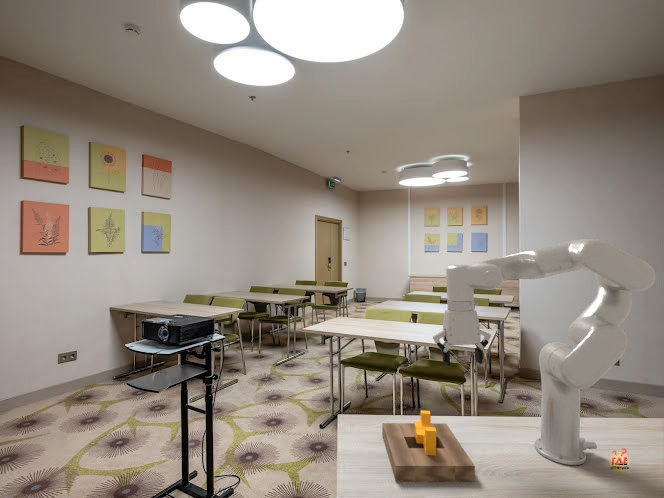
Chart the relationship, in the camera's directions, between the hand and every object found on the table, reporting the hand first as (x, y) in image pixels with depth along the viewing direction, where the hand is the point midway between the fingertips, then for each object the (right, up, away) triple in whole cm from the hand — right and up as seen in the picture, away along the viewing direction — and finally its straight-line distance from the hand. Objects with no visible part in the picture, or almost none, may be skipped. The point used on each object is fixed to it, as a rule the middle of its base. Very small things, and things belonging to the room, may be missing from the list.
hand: (462, 363), depth 109 cm
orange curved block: (-13, -21, -6) cm, 25 cm away
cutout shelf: (-13, -24, -6) cm, 28 cm away
